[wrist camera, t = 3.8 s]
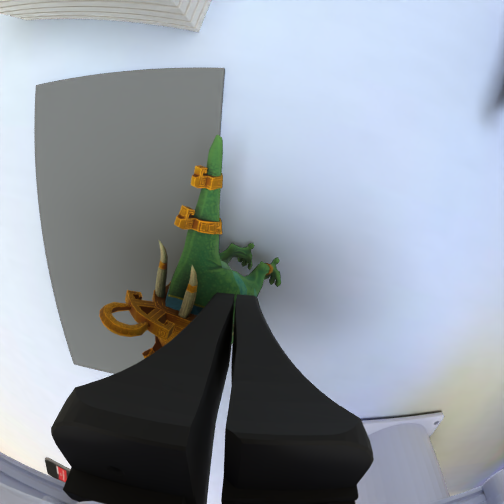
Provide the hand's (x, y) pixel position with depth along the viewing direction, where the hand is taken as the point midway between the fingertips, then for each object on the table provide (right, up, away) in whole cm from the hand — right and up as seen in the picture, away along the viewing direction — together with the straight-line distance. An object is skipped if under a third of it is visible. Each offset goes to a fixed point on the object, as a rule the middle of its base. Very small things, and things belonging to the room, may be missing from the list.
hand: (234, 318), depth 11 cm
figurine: (+1, +2, +4) cm, 5 cm away
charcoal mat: (-6, +2, +5) cm, 8 cm away
